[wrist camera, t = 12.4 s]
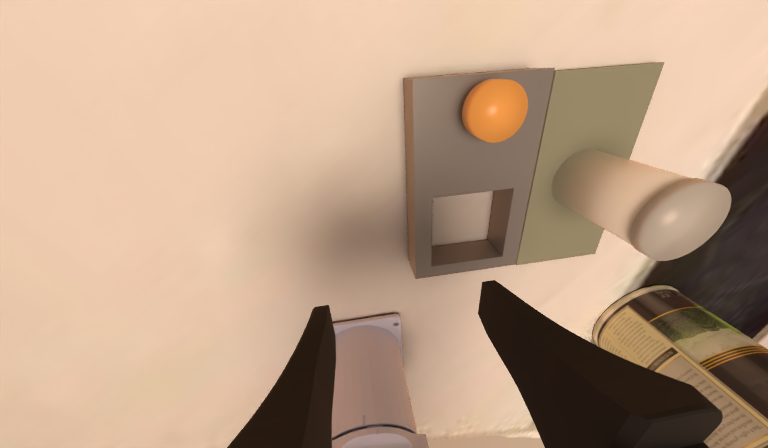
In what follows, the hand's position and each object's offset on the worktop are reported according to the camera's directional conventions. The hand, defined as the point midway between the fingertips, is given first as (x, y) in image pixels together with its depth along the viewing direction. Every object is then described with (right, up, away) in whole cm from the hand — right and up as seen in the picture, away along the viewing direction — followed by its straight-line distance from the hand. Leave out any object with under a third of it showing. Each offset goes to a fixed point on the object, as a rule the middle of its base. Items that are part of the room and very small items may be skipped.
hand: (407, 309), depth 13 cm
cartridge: (+14, +7, +8) cm, 18 cm away
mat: (+14, +8, +9) cm, 18 cm away
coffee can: (+27, -7, +19) cm, 34 cm away
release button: (+4, +11, +4) cm, 13 cm away
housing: (+4, +7, +8) cm, 11 cm away
